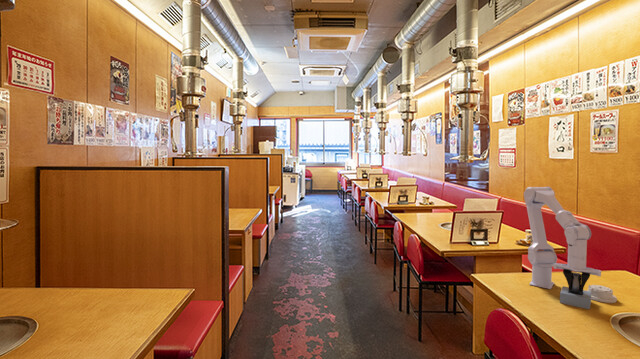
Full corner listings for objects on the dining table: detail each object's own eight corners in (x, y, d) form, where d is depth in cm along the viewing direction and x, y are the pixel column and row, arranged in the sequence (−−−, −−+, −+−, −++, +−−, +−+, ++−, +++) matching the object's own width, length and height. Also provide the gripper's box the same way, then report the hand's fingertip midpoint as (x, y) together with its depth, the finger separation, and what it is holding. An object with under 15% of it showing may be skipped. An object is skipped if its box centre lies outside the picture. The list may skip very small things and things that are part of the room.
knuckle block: (562, 295, 134) (562, 286, 134) (591, 301, 128) (591, 291, 128) (559, 302, 127) (560, 292, 127) (589, 309, 121) (590, 299, 121)
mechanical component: (585, 291, 139) (583, 298, 131) (585, 281, 138) (583, 288, 131) (616, 297, 132) (616, 306, 124) (617, 287, 132) (617, 294, 124)
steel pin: (571, 294, 129) (572, 271, 129) (581, 296, 127) (581, 273, 127) (570, 296, 127) (570, 273, 127) (580, 298, 125) (580, 275, 125)
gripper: (552, 254, 128) (551, 288, 129) (601, 261, 119) (599, 298, 119) (555, 250, 134) (554, 283, 134) (601, 257, 124) (600, 292, 125)
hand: (575, 290), depth 127 cm, fingers closed on steel pin, 3 cm apart
